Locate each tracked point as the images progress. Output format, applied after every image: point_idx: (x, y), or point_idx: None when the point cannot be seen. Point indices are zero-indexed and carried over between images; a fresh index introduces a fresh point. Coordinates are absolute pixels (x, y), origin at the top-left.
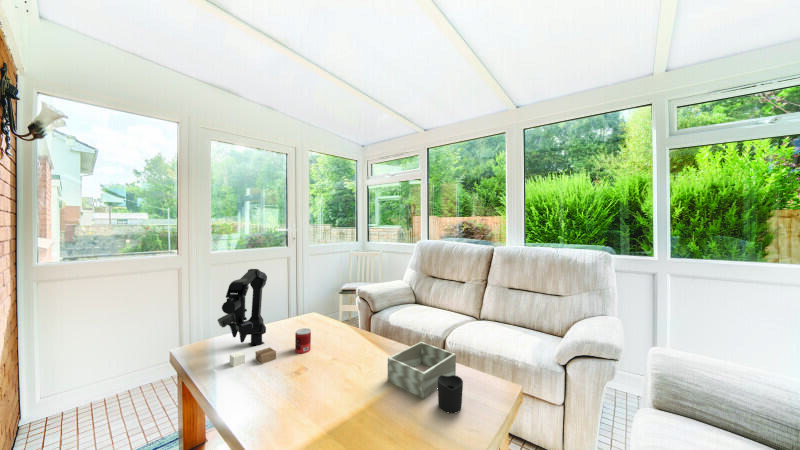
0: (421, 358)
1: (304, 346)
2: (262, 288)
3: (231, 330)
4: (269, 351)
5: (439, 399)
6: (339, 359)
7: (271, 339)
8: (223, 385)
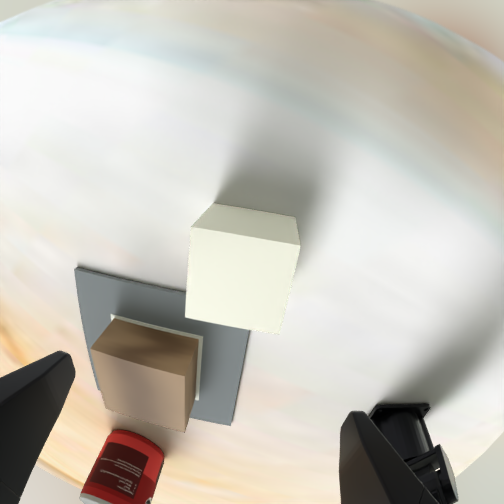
0: None
1: (98, 455)
2: None
3: (412, 494)
4: (126, 400)
5: None
6: None
7: None
8: (61, 73)
